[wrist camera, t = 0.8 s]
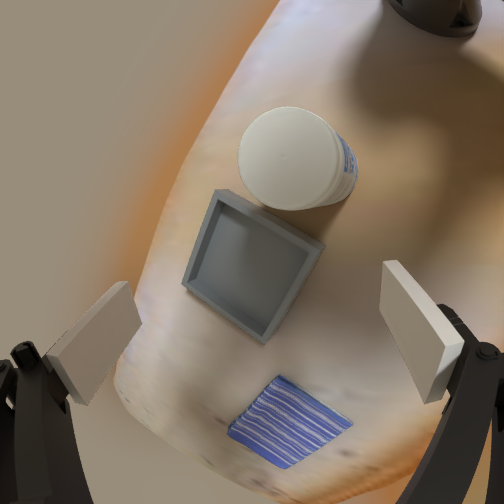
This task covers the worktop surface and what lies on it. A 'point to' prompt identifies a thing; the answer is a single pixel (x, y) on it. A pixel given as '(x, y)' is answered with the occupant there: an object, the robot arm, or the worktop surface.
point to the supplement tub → (295, 160)
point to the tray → (249, 264)
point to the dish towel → (287, 423)
